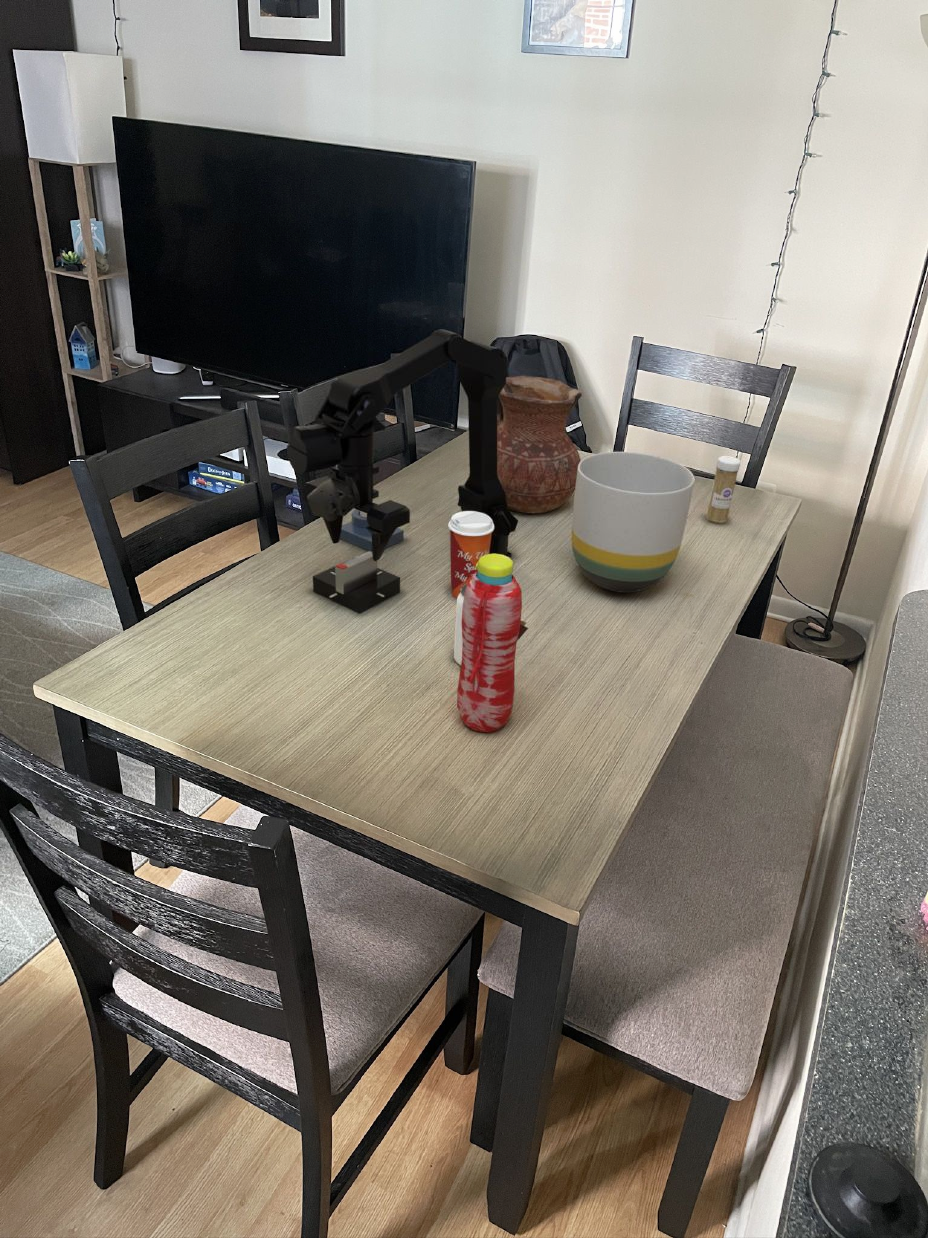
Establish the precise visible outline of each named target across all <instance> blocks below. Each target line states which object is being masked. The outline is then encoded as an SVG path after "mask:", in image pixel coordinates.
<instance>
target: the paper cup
mask: <svg viewBox="0 0 928 1238" xmlns="http://www.w3.org/2000/svg"><path fill="white" fill-rule="evenodd" d="M447 526H448V529H449V544H450V545H449V547H450V548H449V553H450V554H449V555H450V556H449V557H450V559H449V562H450V563H449V564H450V593H451V595H452V597H454V598H455V599H457V598H458V596H459V594H460V589H461V587H462V586H463V585H465V584H467V583H468V582H469V581H470V579H471V578H472V577H474V575H475V573H476V572H477V571H478V569H477V568H476V564H477V562H478V561H479V559H480V557H482V556H484V555H486V554H489V550H490V542H491V535H492V531H493V530H494V524H493V521H492V519H491V518H490V517H489V516H488V515H486V514H484V513H480V512H476V511H463V512H462V511H459V512H455V513H454V514H453V515H452V516H451V518H450V520H449V522H448V524H447Z"/></svg>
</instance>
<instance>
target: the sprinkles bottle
mask: <svg viewBox="0 0 928 1238" xmlns="http://www.w3.org/2000/svg"><path fill="white" fill-rule="evenodd" d="M715 465H716V469H715V475H714V479H713V482H712V487H711V492H710V496H709V497H710V498H709V501H708V508H707V513H706V516H705V518H706V520H708V521H709V522H711V523H715V524H725V523H727V522H728V521H729V513H730V509H731V506H732V501H733V497H734V493H735V492H734V491H735V486H736V482H737V477H738V473H739V471H740V468H741V460H740V459H739V458H737V457H734V456H730V455H722V456H719V457H718V458H717V461H716V464H715Z"/></svg>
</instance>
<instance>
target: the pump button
mask: <svg viewBox="0 0 928 1238" xmlns="http://www.w3.org/2000/svg"><path fill="white" fill-rule="evenodd" d="M360 516H362V517H367V513H364V512H362V511H360Z"/></svg>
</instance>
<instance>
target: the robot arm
mask: <svg viewBox="0 0 928 1238" xmlns="http://www.w3.org/2000/svg"><path fill="white" fill-rule="evenodd" d="M450 362H452V363H453V364H455V365H456V369H457V374H458V381H459V383H460V385H461V387H462V388H463V391H464V393H465V395H466V397H467V414H468V415H467V417H468V421H467V422H468V461H469V464H468V465H469V467H468V468H469V475H468V477H467V479H466V481H465V482H464V484H460V485H458V487H457V493H458V502H457V506H458V507H460V512H463V511H476V512H480V513H484V514H486V515H488V516H489V517H490V518H491V519H492V521H493V524H494V530H493V531H492V535H491V542H490V550H489V554H501V555H504V556H507V557H509V558H510V557H512V554H513V553H512V552H511V551H509V550H508V547H509V536H510V535H511V533H514V532H516V529H517V526H518V523H519V519H518V518H517V517H515V516H514V514H513V513H511V511H510V509H508V506H507V499H506V493H505V490H504V488H503V486H502V484H501V482H500V480H499V478H498V474H497V398H498V396H499V394H500V393H501V391H502V389H503V388H504V386H505V384H506V378H507V377H508V369H509V358H508V354H506V352H504V351H503V350H502V349H501V348H498V347H495V346H492V345H489V344H486V343H483V342H481V341H477V340H467V339H466V338H464V337H462V336H461V335H460V334H458V333H457V332H453V331H449V330H446V329H442V328H440V329H437V330H434V331H433V332H432V333H431V334H430V335H429V336H428V337H426V338H425V339H423V340H421V341H419V342H418V343H416V344H414V345H412V346H411V347H409V348H407V349H406V350H404V351H403V352H400V353H398V354H397V355H395V356H394V357H392V358H390V359H388V360H387V361H385V362H383V363H381V364H379V365H378V366H375V367H373V368H367V369H359V370H354V371H352V372H349V373H346V374H343V375H339V376H338V377H336V378H335V379H334V380H333V381H332V382H331V384H330V389H329V391H328V395H326V398H325V399H324V401H323V403H322V405H321V407H320V408H319V410H318V412H317V414H316V415H315V417H314V421H315V422H316V423H315V424H312V425H311V424H310V425H298V426H294V428H293V434H292V435H291V436H290V437H289V439H288V442H287V445H286V453H287V459H288V462H289V464H290V466H291V468H292V469H293V471H294V472H295V473H296V474H298V475H304V474H308V473H312V472H317V471H322V470H325V469H330V470H329V476H328V475H325V476H322V477H319V478H316V479H313V480H310V481H308V482H306V483H305V484H304V486H303V488H302V500H303V501H305V502H306V503H308V505H309V508H310V510H311V512H312V515H313V516H315V517H319V518H322V520H323V522H324V524H325V527H326V530H327V532H328V534H329V537H330V540H331V542H332V544H334V545H336V544H338V543H340V540H341V539H340V535H341V529H342V525H343V523H344V522H343V521H344V517H346V516H347V515H348V514H349V513H350V512H351V511H352V510H355V509H357V510H359V511H362V512H364V513H367V522H368V524H369V526H368V527H366V529H367V530H368V531H369V532H370V533H371V534H372V555H373V560H374V561H377V562H378V561H379V560H380V559H381V557H382V555H383V553H384V552H385V550H386V549H385V547H386V545H387V543H388V542H389V540H390V538H391V536H392V535H393V533H394V531H395V530H396V528H401V527H402V526H405V525H408V524H410V522H411V510H410V508H409V507H408V506H406V505H405V504H402V503H399V502H396V501H394V500H392V499H389V500H386V501H383V502H381V503H376V502H374V499H377V498H379V496H380V493H379V492H380V490H378V489H375V488H374V475H377V474H379V473H380V466H379V465H376V464H374V434H375V433H377V432H382V431H385V430H386V429H387V426H386V425H385V424H383V422H381V421H380V420H379V419H378V415H380V414H381V413H382V412H383V411H385V410H386V409H387V407H388V405H389V404H390V402H391V400H392V398H393V397H395V395H396V394H398V393H399V392H401V391H403V390H404V389H406V388H407V387H409V386H410V385H412V384H414V383H416V382H417V381H419V380H421V379H422V378H424V377H426V376H427V375H430V374H431V373H432V372H434V371H436V370H437V369H439V368H442V366H444V365H446V364H448V363H450ZM336 414H340V415H341V416H344V417H345V418H347V419H346V420H344V419H342V418H340V417H338V416H336Z"/></svg>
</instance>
